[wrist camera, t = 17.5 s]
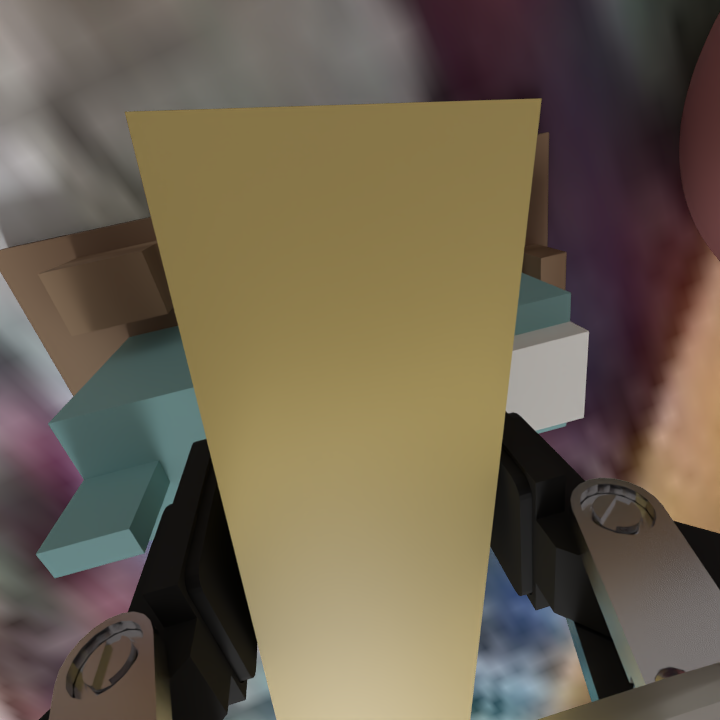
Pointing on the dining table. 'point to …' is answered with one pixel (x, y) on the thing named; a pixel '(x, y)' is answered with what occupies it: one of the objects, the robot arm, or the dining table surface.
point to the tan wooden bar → (351, 374)
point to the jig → (160, 283)
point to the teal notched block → (184, 426)
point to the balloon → (703, 142)
